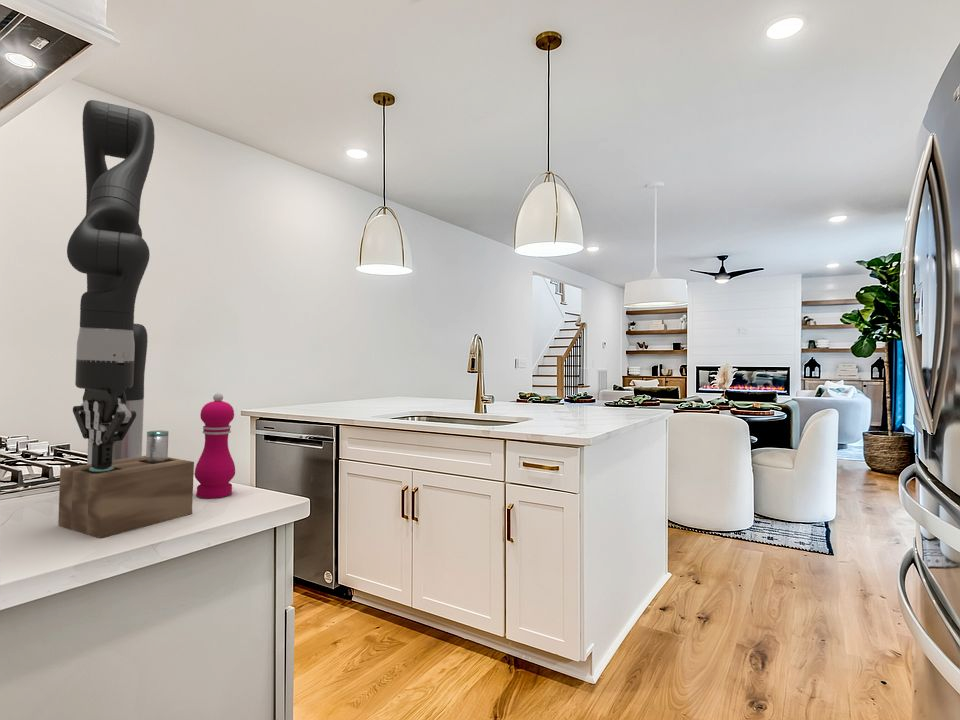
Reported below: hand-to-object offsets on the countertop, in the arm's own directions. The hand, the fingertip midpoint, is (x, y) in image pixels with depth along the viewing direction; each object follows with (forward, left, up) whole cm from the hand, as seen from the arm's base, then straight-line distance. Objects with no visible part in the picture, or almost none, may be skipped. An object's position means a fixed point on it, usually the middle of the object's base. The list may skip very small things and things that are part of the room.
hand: (101, 467), depth 85 cm
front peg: (0, 0, -8) cm, 8 cm away
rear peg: (0, +9, -4) cm, 10 cm away
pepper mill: (-2, +23, -10) cm, 25 cm away
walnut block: (0, +5, -9) cm, 10 cm away
